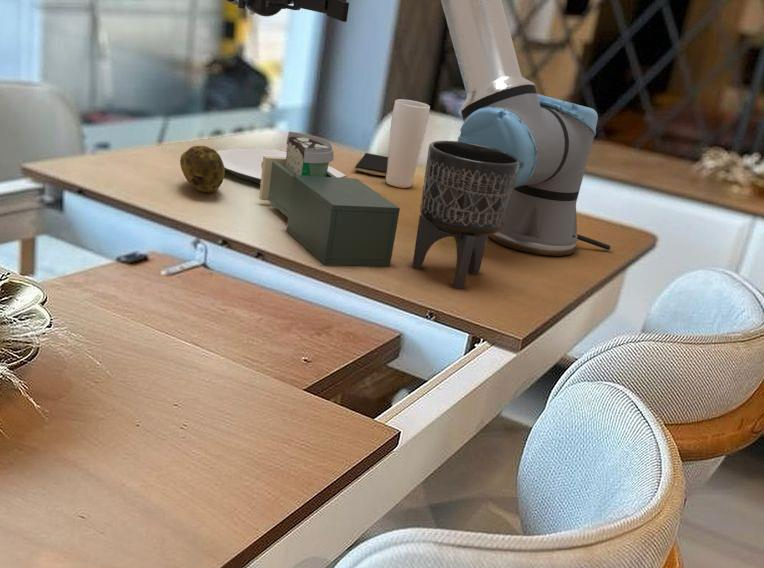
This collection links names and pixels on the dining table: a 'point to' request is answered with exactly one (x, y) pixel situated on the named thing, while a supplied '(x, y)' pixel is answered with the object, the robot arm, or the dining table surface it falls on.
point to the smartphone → (373, 164)
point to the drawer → (277, 183)
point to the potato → (203, 168)
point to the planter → (464, 200)
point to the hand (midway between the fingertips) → (305, 7)
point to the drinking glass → (406, 141)
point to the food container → (308, 154)
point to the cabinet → (342, 221)
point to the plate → (254, 162)
